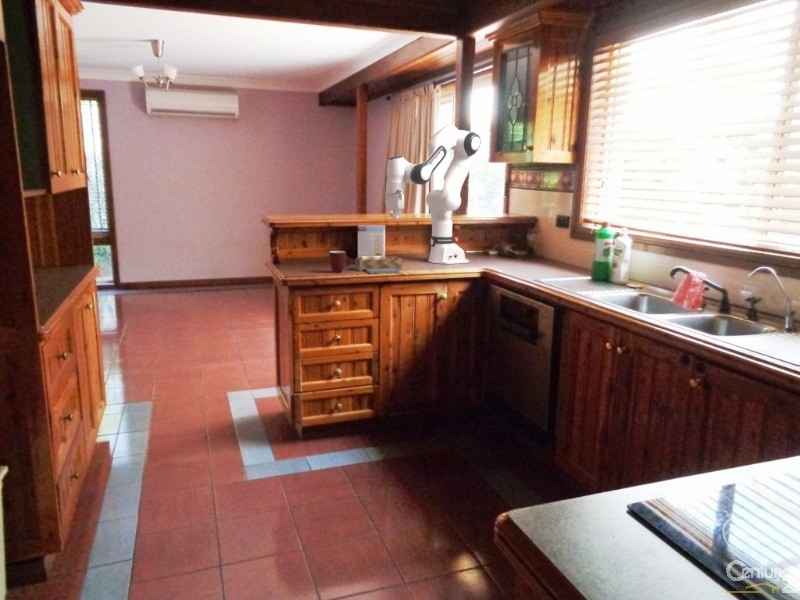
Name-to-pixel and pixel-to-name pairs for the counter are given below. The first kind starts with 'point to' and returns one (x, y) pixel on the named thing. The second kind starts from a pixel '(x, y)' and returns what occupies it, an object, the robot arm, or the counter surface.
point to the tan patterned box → (379, 263)
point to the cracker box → (371, 240)
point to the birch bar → (370, 257)
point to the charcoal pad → (382, 270)
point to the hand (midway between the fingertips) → (394, 217)
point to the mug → (338, 260)
